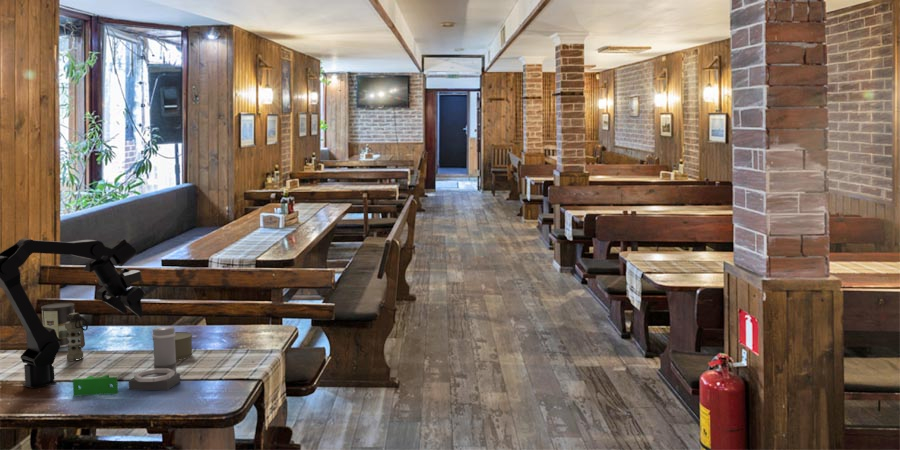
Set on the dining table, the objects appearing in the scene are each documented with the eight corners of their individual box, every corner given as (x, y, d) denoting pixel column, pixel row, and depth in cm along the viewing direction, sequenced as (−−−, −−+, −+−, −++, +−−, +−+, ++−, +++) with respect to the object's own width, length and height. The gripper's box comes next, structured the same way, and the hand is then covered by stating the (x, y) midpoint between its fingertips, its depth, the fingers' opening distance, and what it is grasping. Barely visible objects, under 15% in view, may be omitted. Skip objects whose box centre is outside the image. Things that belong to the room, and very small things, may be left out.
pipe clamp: (121, 390, 202) (120, 374, 201) (116, 394, 198) (116, 378, 198) (78, 391, 200) (78, 375, 200) (73, 396, 197) (72, 379, 196)
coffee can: (78, 340, 262) (76, 301, 261) (74, 346, 252) (72, 306, 251) (45, 342, 258) (43, 303, 257) (41, 349, 248) (38, 309, 247)
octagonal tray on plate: (127, 390, 200) (126, 378, 200) (144, 380, 210) (144, 368, 210) (165, 390, 200) (165, 378, 199) (181, 380, 210) (181, 368, 209)
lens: (162, 379, 211) (160, 332, 210) (149, 376, 214) (147, 329, 213) (181, 374, 216) (179, 327, 215) (168, 371, 220) (166, 325, 219)
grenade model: (82, 361, 232) (79, 315, 230) (63, 360, 233) (60, 314, 232) (95, 356, 238) (93, 311, 237) (77, 355, 239) (75, 311, 238)
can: (200, 353, 241) (199, 332, 240) (177, 362, 230) (176, 341, 229) (169, 351, 244) (168, 331, 244) (145, 360, 233) (144, 339, 232)
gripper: (145, 261, 222) (170, 301, 230) (113, 258, 233) (137, 296, 241) (116, 283, 215) (142, 324, 222) (84, 278, 226) (110, 317, 233)
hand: (133, 314), depth 230 cm, fingers open, 9 cm apart
